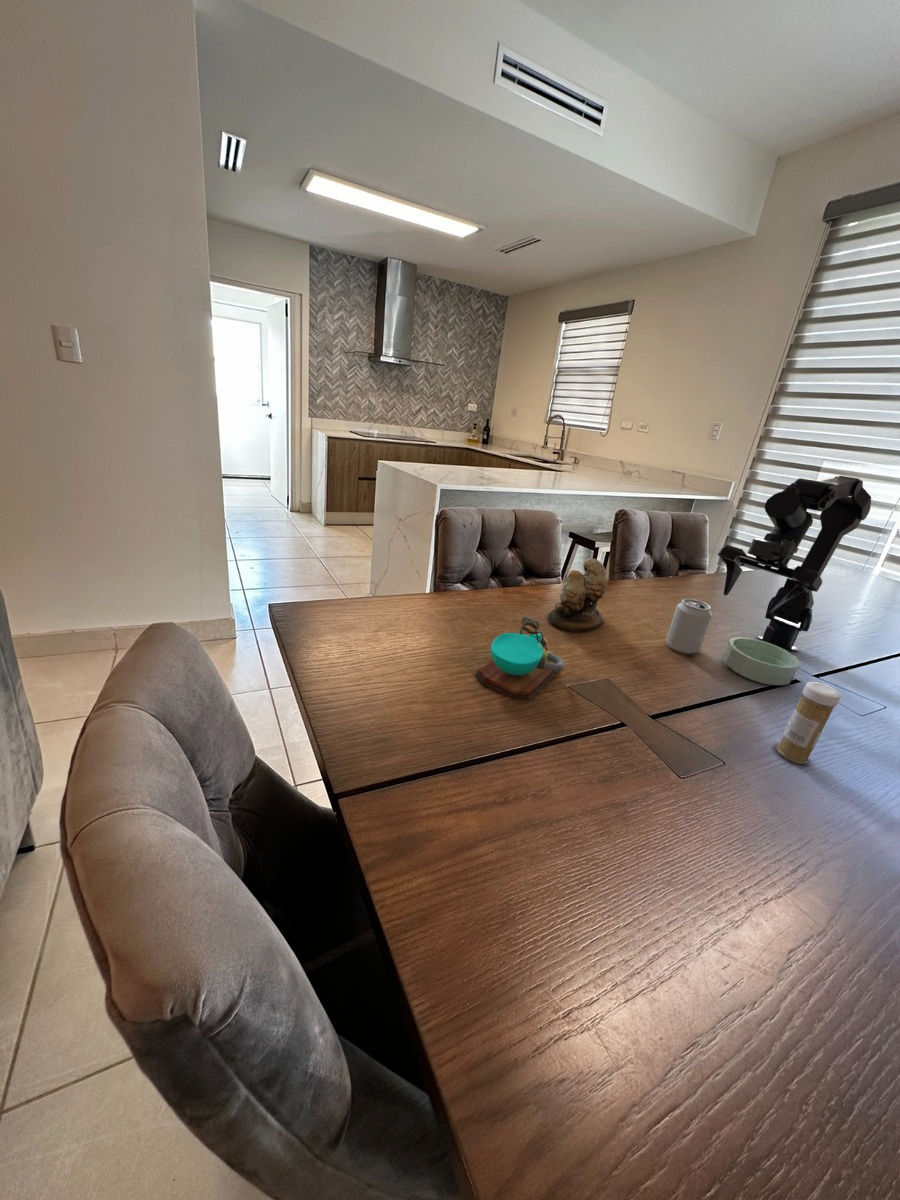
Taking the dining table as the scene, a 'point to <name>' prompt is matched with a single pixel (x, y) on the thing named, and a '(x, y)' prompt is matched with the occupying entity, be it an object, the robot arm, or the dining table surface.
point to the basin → (760, 661)
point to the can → (689, 626)
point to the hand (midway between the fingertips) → (746, 603)
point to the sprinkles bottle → (807, 722)
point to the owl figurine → (581, 598)
